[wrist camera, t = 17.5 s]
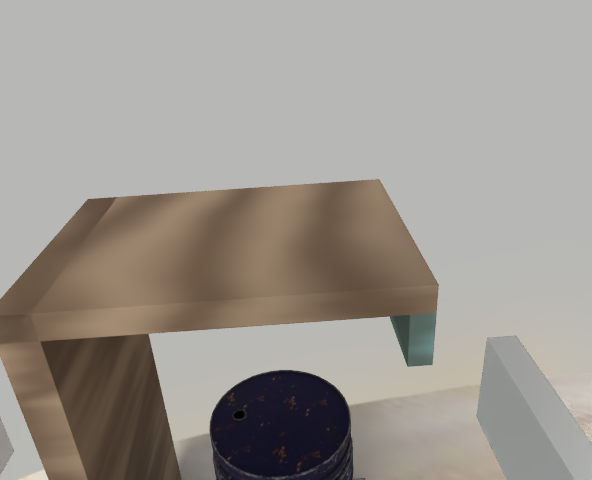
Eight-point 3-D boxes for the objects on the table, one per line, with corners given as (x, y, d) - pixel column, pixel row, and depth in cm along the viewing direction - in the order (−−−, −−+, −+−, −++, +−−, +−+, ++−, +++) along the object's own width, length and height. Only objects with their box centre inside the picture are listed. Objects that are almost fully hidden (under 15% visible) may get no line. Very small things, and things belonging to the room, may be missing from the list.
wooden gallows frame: (374, 475, 48) (379, 179, 35) (410, 646, 36) (438, 284, 23) (162, 491, 48) (88, 199, 35) (123, 669, 35) (-16, 317, 22)
